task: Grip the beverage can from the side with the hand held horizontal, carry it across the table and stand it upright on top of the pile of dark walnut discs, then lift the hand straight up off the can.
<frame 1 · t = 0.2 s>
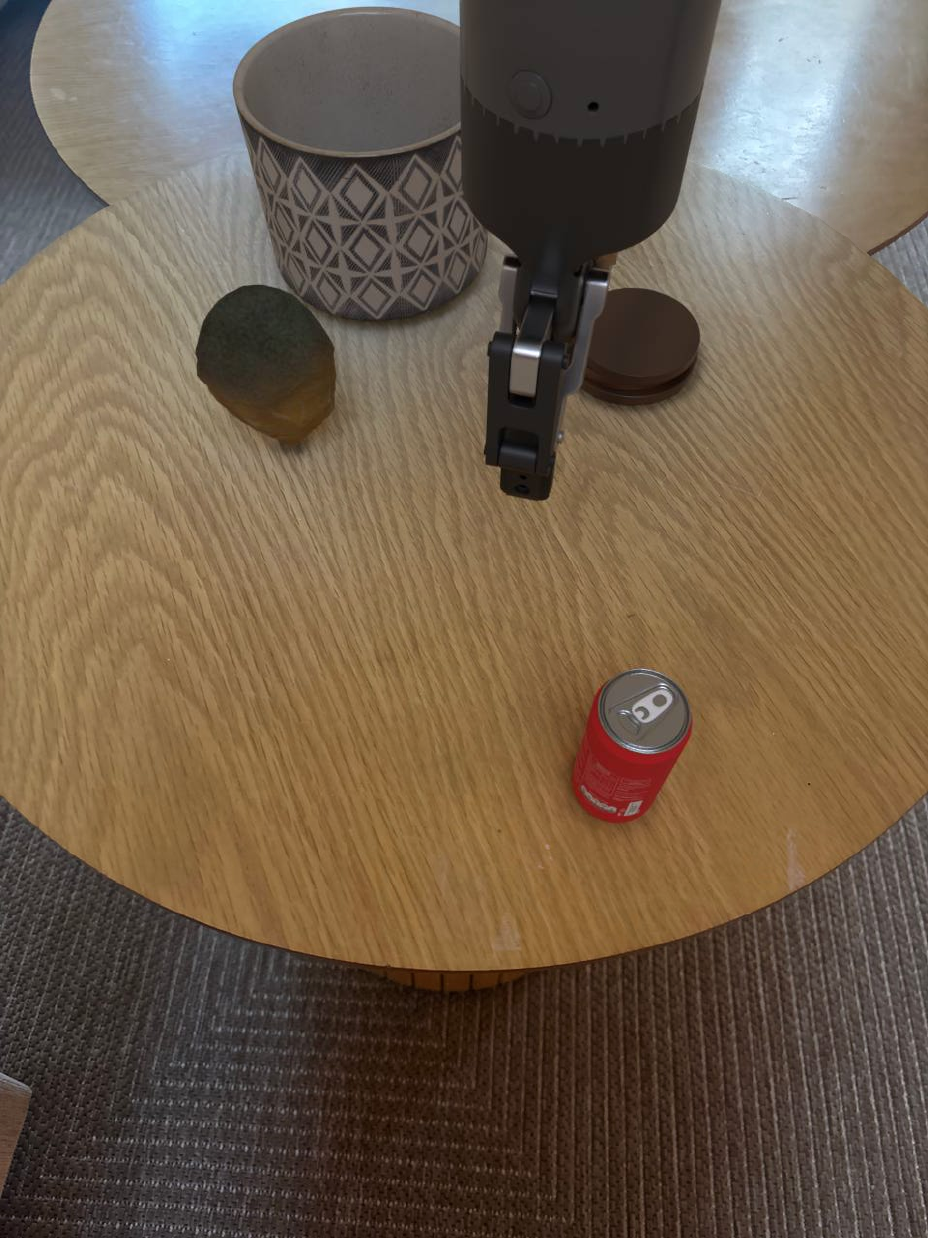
hand: (545, 420, 41), 22 cm above the table, tool pointing down, fingers open, 8 cm apart
beverage can: (611, 788, 55), on the table
disc pile: (627, 356, 73), on the table
planter: (383, 265, 79), on the table
decorative stone: (289, 448, 69), on the table
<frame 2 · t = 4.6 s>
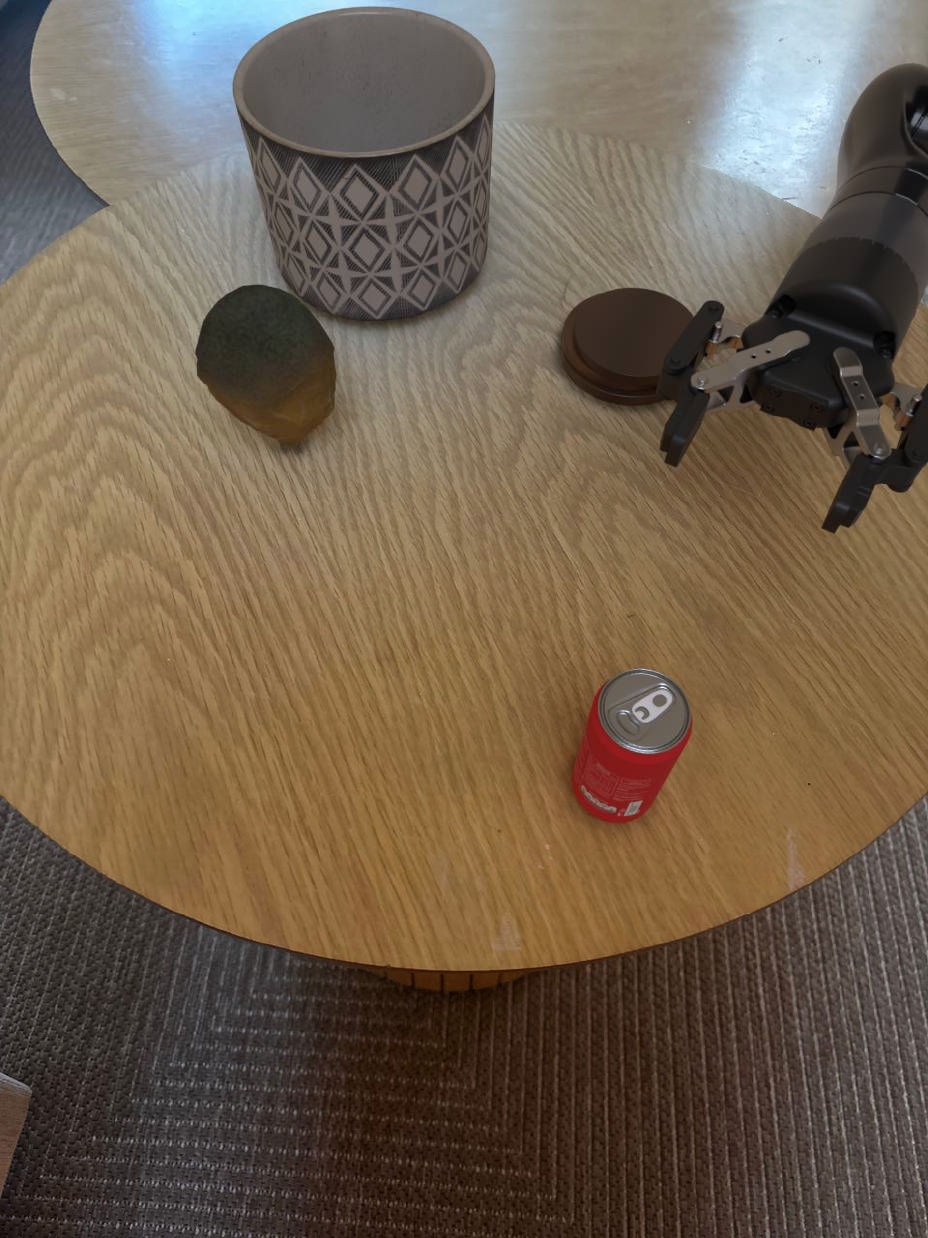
hand: (751, 488, 45), 18 cm above the table, tool horizontal, fingers open, 8 cm apart
nothing on the table moved.
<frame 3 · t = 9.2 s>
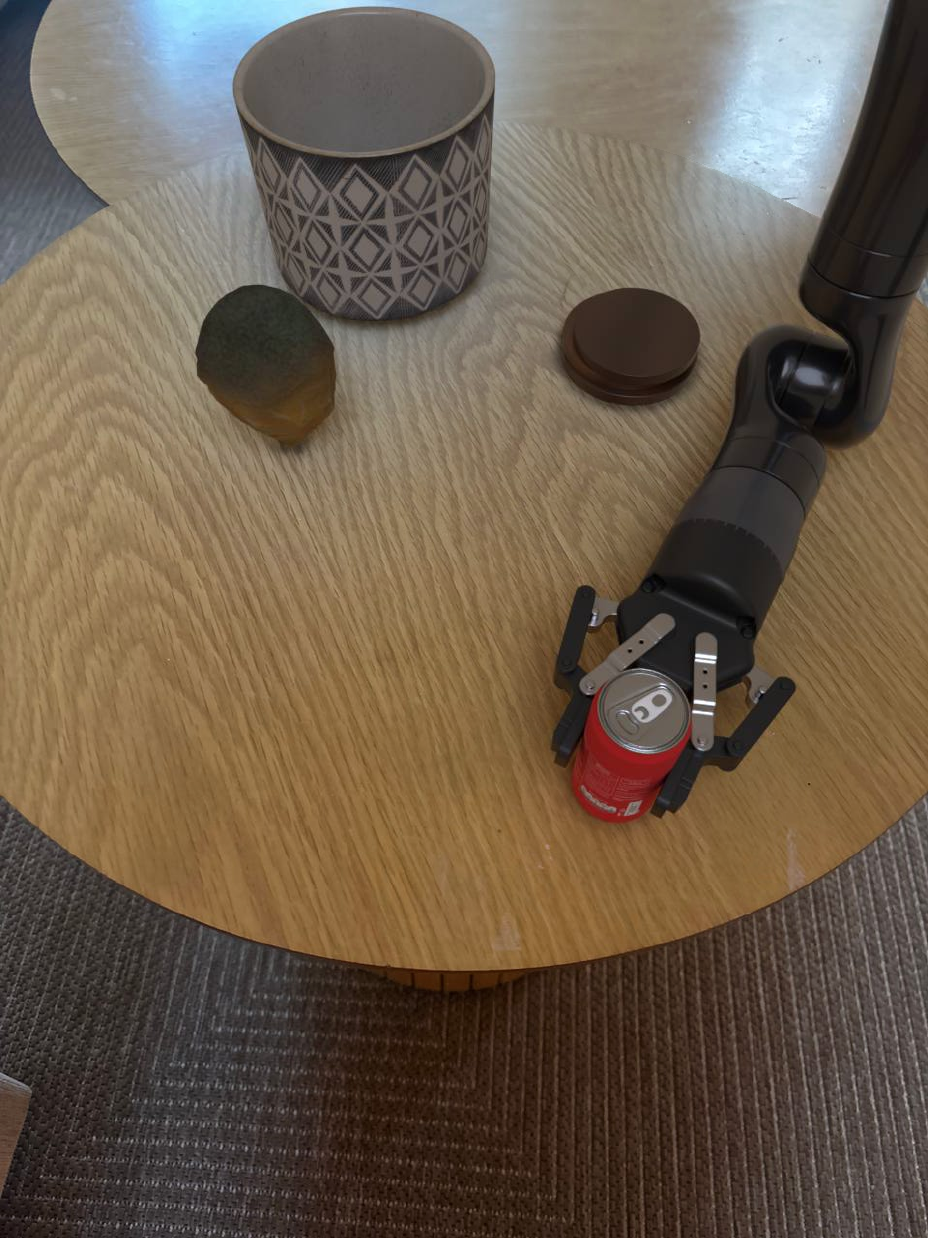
hand: (609, 785, 48), 7 cm above the table, tool horizontal, fingers closed on beverage can, 5 cm apart
beverage can: (611, 788, 55), on the table, touching gripper
everything else where it was.
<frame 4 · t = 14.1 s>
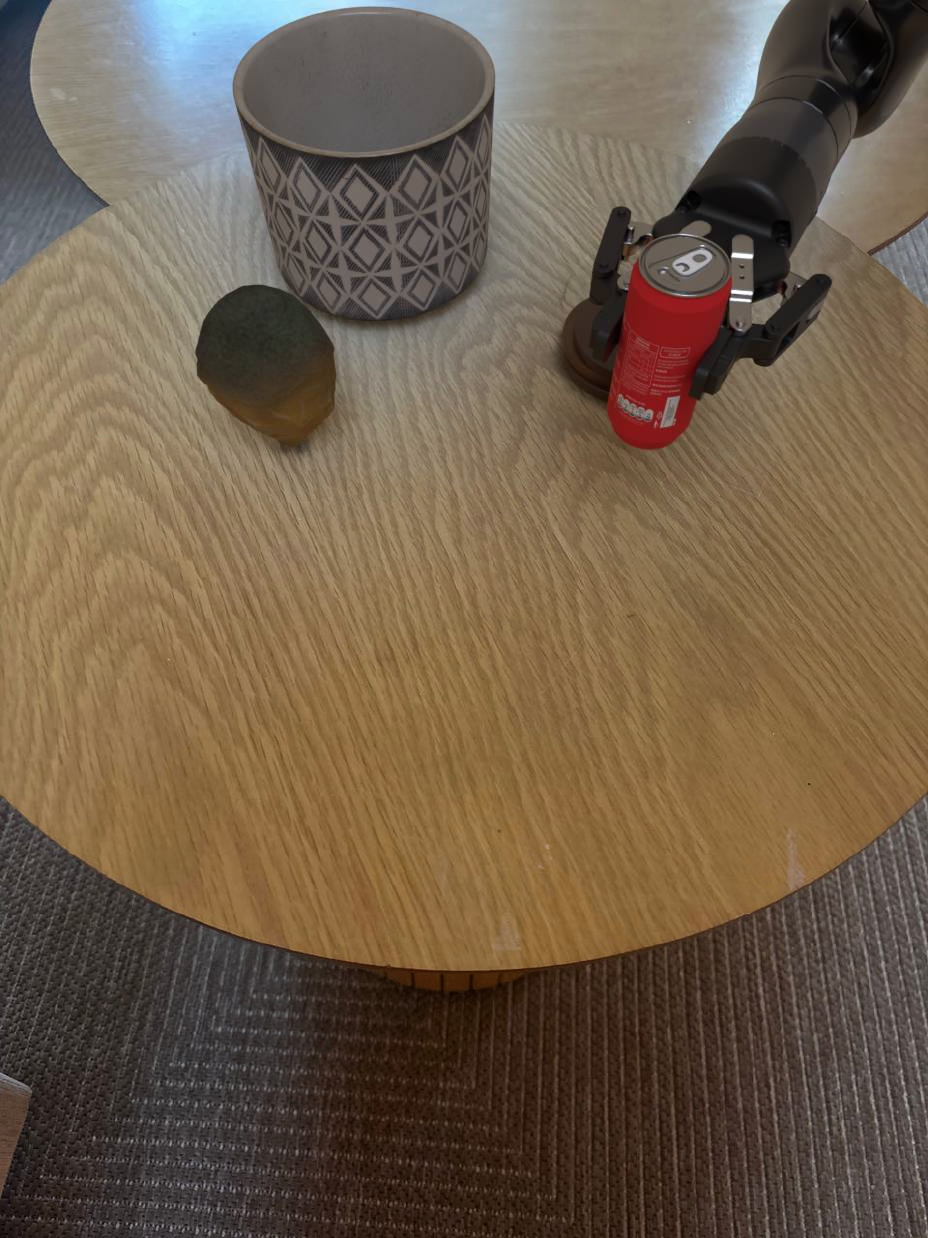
hand: (648, 368, 48), 18 cm above the table, tool horizontal, fingers closed on beverage can, 5 cm apart
beverage can: (645, 425, 56), point 11 cm above the table, touching gripper
everything else where it was.
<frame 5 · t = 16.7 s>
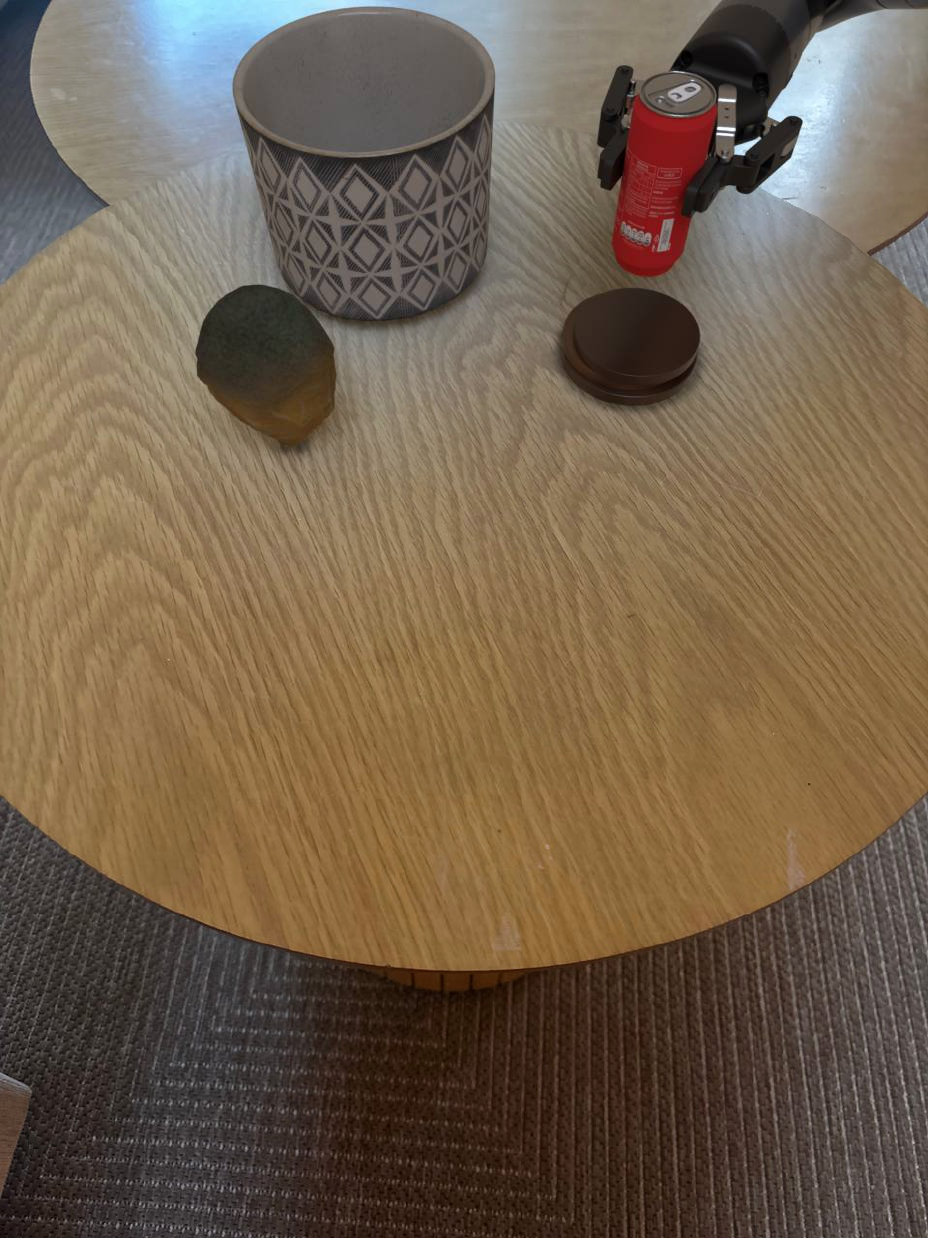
hand: (647, 190, 58), 17 cm above the table, tool horizontal, fingers closed on beverage can, 5 cm apart
beverage can: (644, 259, 65), point 10 cm above the table, touching gripper
everything else where it was.
when the fingers open (10 cm above the table, at t = 18.9 s): beverage can stays where it is, resting on disc pile.
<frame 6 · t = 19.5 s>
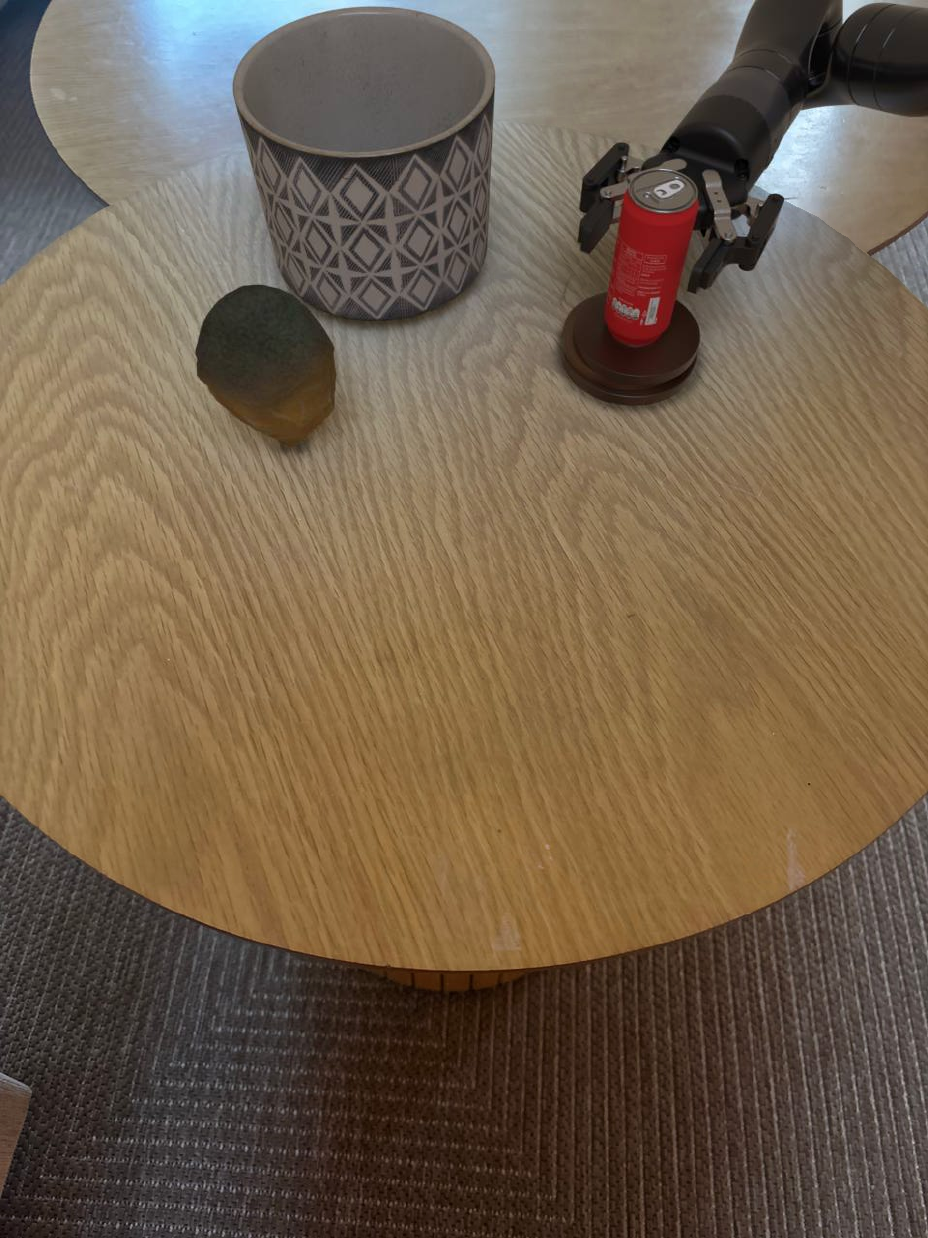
hand: (638, 262, 63), 11 cm above the table, tool horizontal, fingers open, 8 cm apart
beverage can: (634, 328, 71), point 3 cm above the table, touching disc pile
everything else where it was.
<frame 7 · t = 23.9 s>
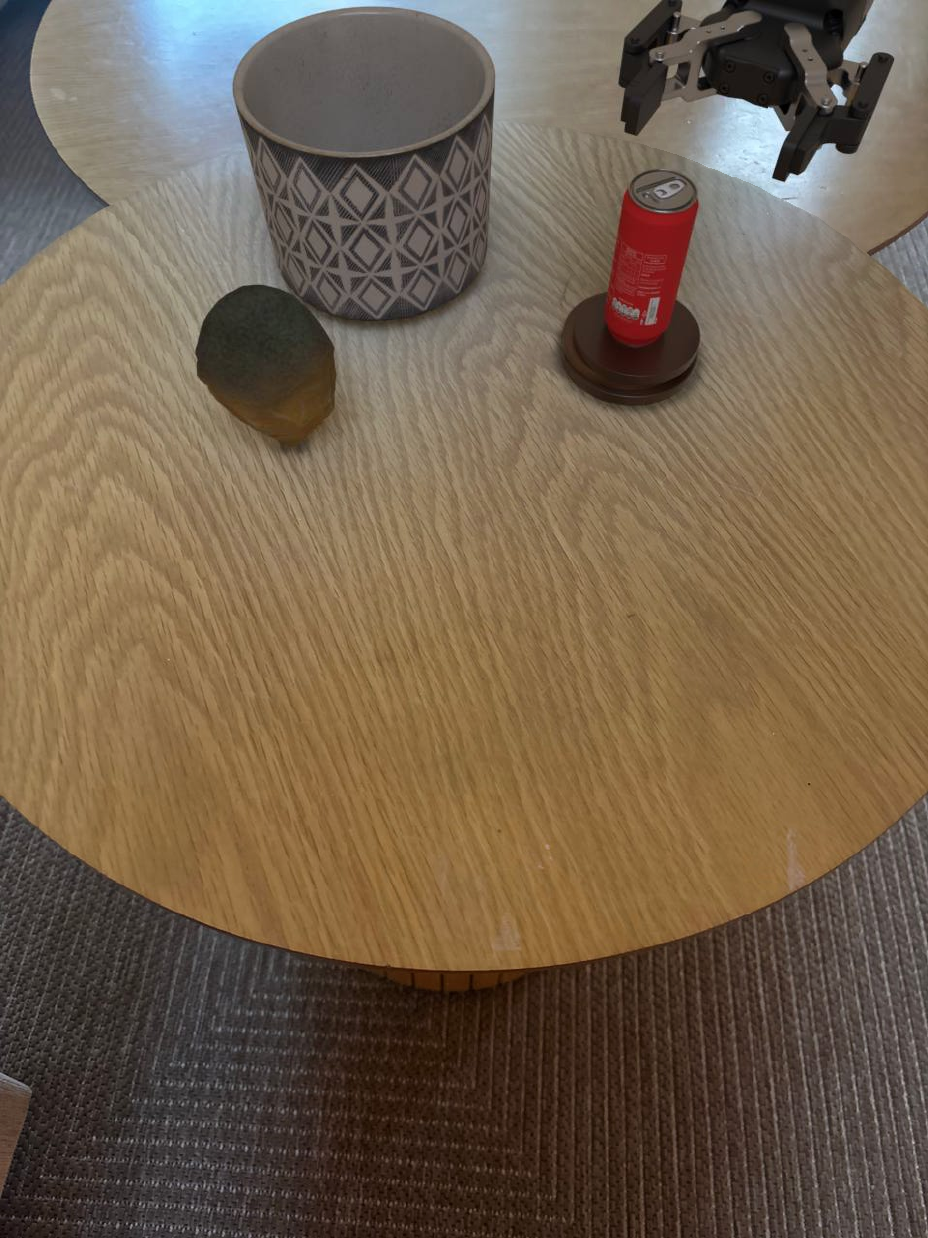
hand: (706, 140, 47), 25 cm above the table, tool horizontal, fingers open, 8 cm apart
nothing on the table moved.
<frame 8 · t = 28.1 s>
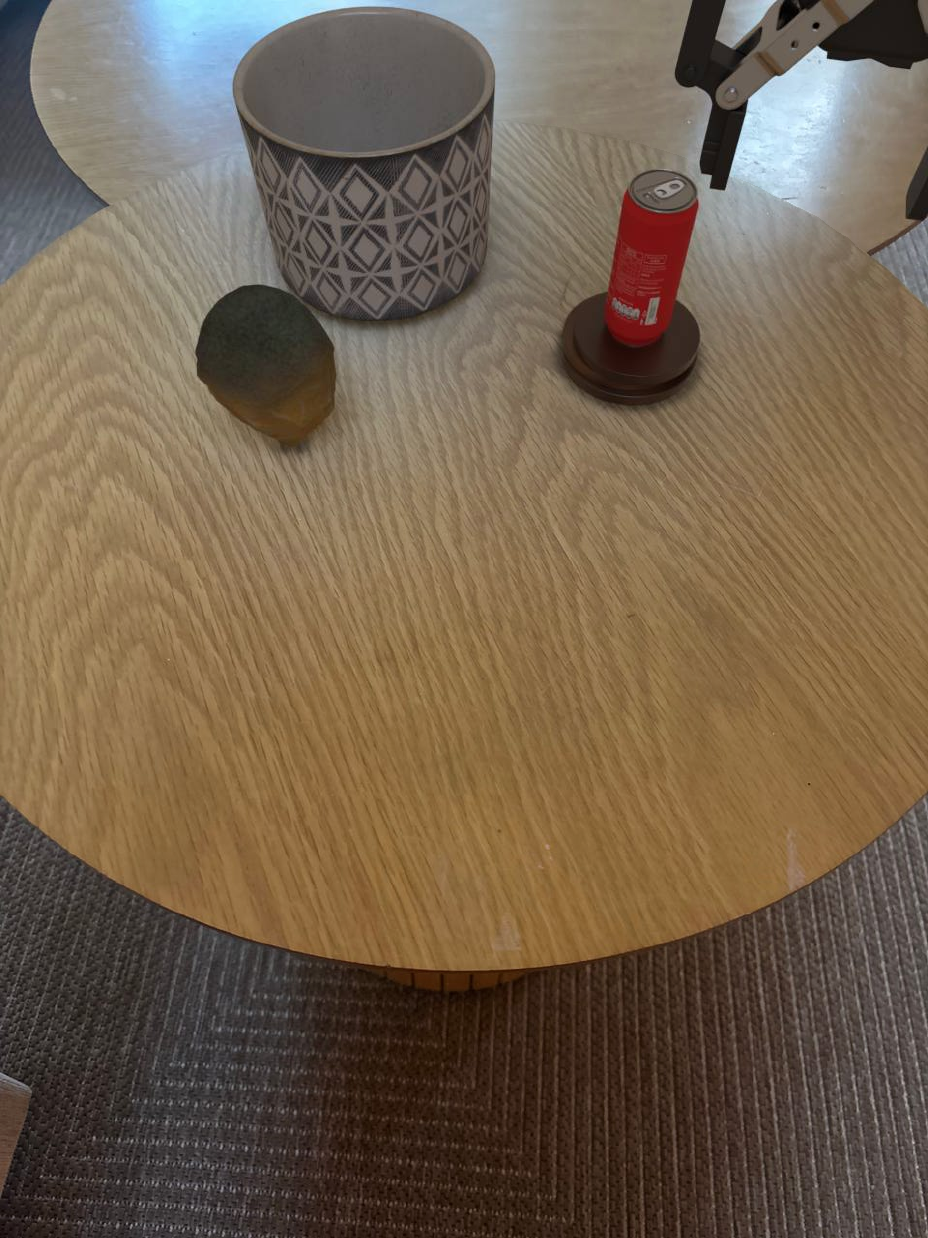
hand: (815, 194, 39), 28 cm above the table, tool pointing down, fingers open, 8 cm apart
nothing on the table moved.
at the end: beverage can 0.1 cm off-centre on the disc pile, point 2.8 cm above the disc pile's base; beverage can tilted 0°; the gripper is holding nothing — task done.
